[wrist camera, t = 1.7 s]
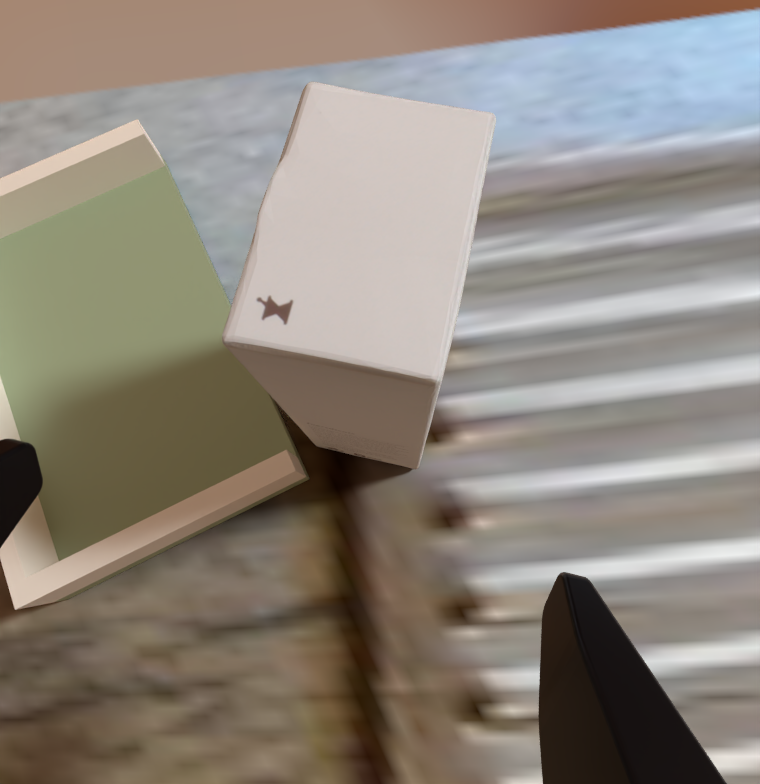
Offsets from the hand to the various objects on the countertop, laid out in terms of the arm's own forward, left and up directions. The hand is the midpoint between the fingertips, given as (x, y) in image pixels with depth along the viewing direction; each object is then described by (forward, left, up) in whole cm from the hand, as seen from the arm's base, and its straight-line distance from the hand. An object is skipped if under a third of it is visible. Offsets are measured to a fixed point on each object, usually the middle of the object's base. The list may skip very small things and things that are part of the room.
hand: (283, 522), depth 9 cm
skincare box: (+4, -4, -12) cm, 13 cm away
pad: (+11, +4, -12) cm, 17 cm away
